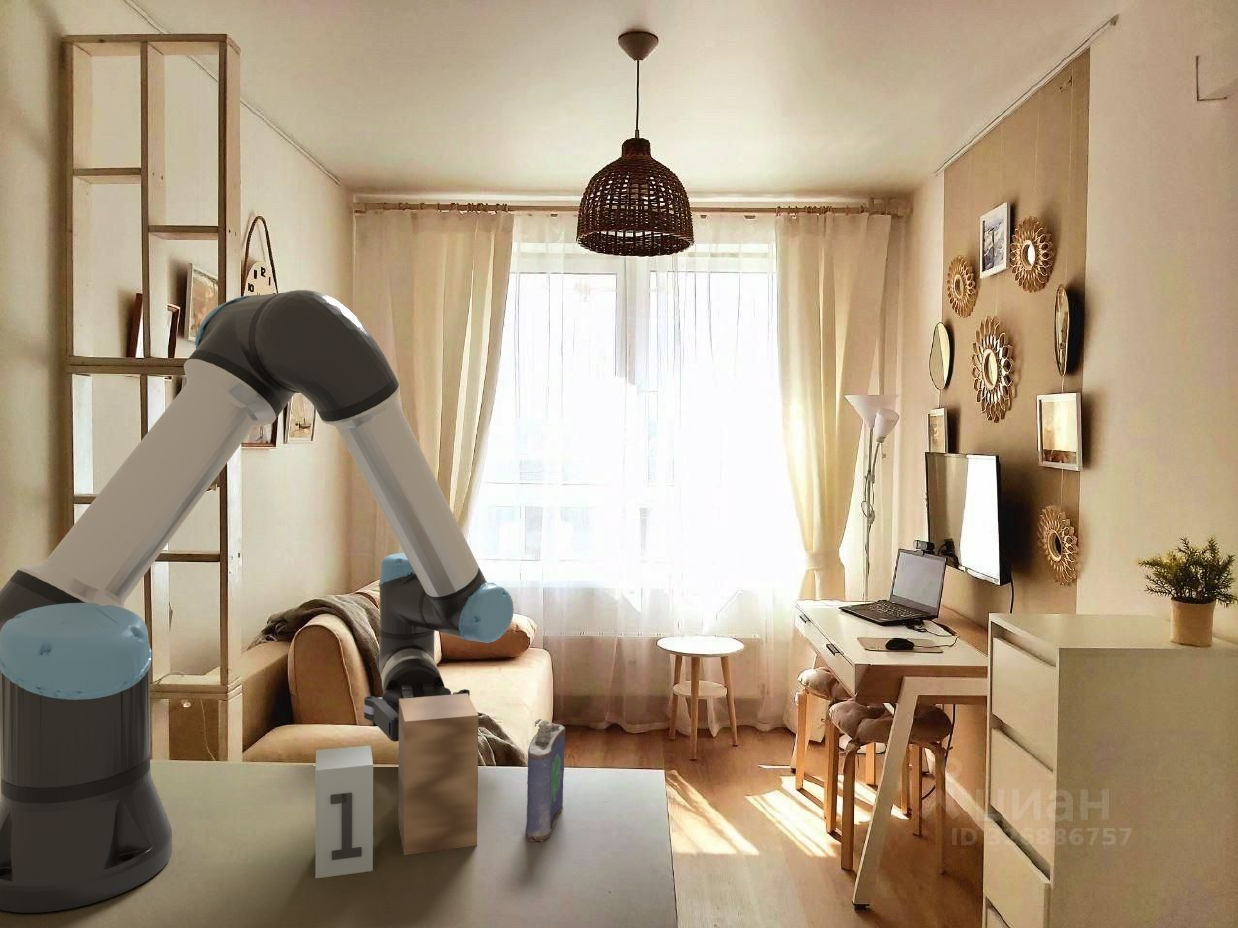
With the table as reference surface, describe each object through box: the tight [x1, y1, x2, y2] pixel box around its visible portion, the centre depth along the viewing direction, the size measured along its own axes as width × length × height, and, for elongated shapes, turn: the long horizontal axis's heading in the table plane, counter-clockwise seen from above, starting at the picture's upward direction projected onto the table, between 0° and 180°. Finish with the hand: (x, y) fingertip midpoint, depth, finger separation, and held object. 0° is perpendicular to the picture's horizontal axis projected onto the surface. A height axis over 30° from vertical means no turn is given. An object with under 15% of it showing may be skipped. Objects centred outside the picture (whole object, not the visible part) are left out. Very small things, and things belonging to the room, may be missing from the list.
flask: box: [525, 718, 566, 843], centre depth 93 cm, size 9×3×11 cm, turn 172°
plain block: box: [397, 693, 479, 856], centre depth 90 cm, size 7×7×13 cm
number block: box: [315, 744, 374, 879], centre depth 84 cm, size 5×5×10 cm
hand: (431, 751), depth 95 cm, fingers closed
